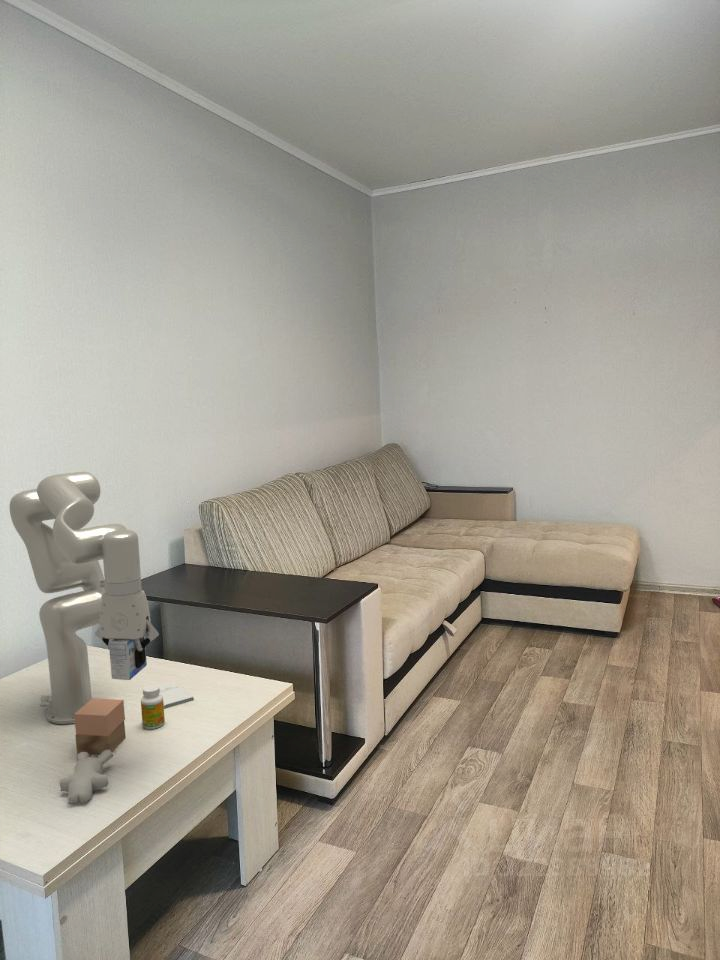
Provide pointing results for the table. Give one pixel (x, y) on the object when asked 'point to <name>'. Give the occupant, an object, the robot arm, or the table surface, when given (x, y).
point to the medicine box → (123, 659)
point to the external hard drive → (174, 695)
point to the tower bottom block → (100, 741)
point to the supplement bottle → (152, 707)
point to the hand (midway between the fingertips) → (129, 664)
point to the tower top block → (99, 717)
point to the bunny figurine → (86, 777)
